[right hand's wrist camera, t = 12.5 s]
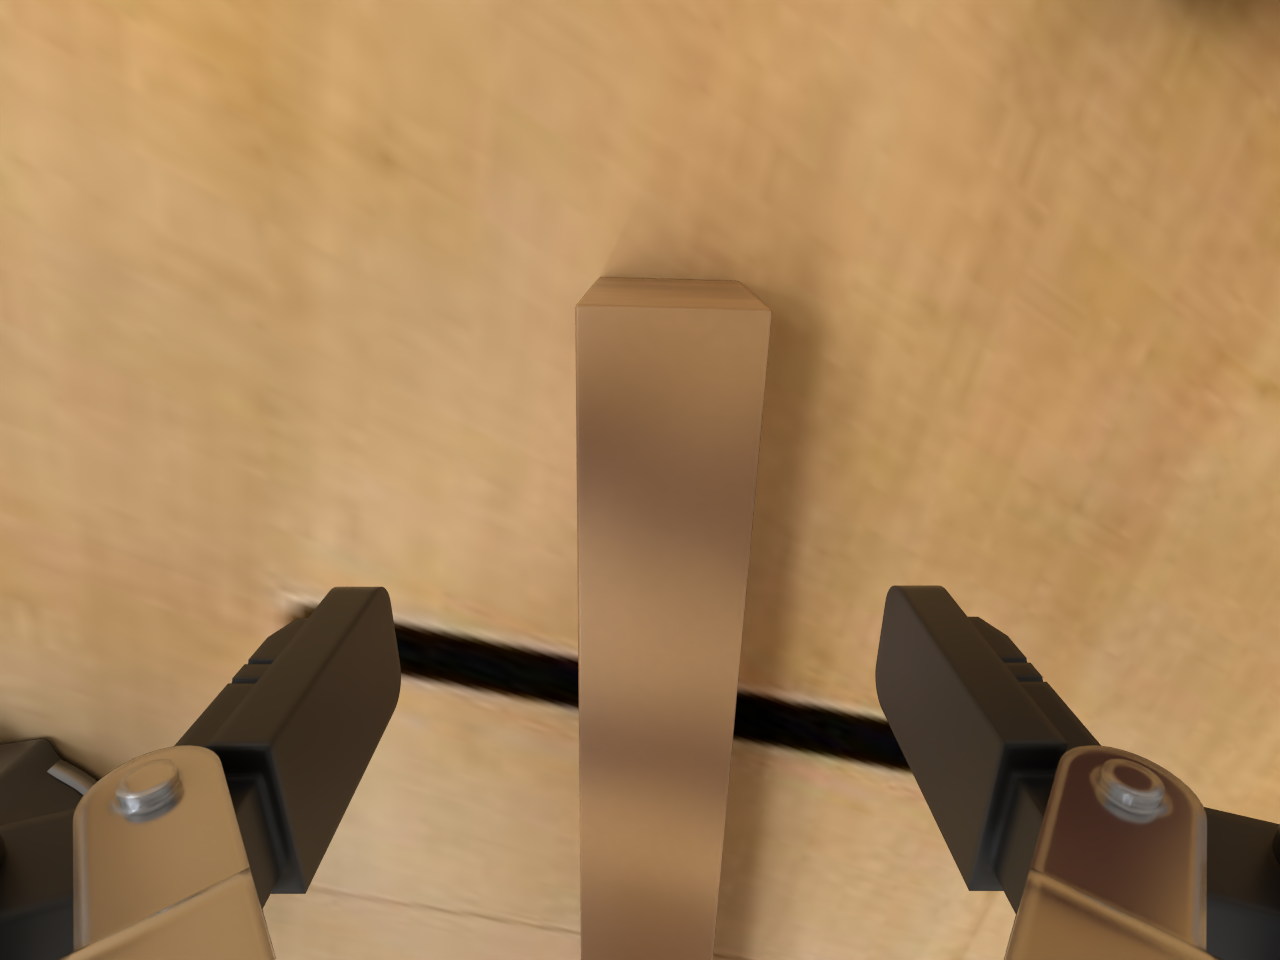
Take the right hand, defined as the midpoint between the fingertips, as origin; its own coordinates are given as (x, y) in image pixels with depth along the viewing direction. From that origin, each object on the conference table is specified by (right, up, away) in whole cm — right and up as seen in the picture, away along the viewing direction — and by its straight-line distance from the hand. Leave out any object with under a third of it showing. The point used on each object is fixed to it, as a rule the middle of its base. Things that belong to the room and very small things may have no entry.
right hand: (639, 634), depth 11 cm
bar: (0, -21, +23) cm, 31 cm away
